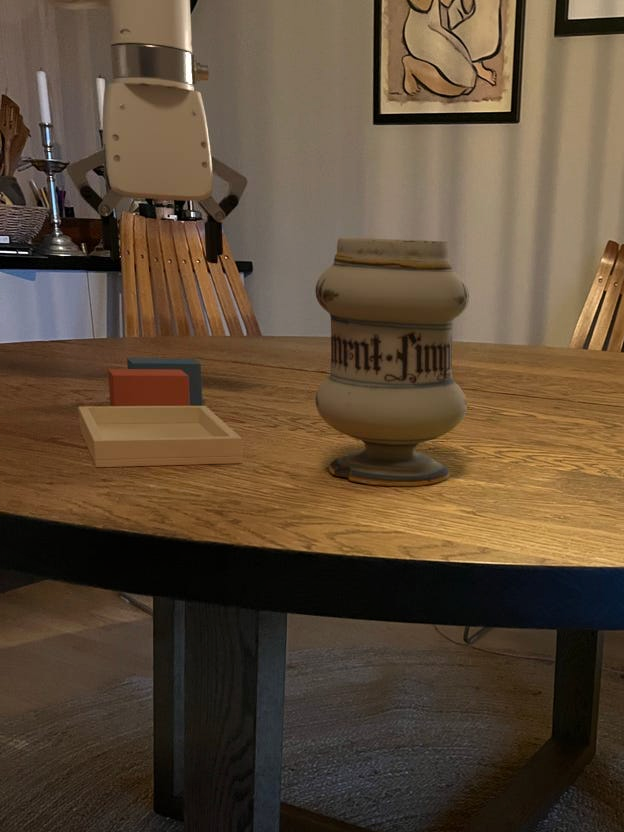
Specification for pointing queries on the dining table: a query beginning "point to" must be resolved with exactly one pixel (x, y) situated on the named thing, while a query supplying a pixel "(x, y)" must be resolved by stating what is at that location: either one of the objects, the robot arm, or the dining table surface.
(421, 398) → the apothecary jar
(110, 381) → the red block
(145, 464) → the wooden tray
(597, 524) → the dining table surface
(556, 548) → the dining table surface
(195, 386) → the blue-gray block
